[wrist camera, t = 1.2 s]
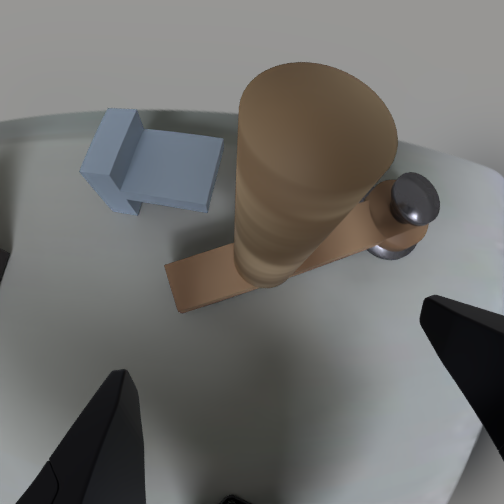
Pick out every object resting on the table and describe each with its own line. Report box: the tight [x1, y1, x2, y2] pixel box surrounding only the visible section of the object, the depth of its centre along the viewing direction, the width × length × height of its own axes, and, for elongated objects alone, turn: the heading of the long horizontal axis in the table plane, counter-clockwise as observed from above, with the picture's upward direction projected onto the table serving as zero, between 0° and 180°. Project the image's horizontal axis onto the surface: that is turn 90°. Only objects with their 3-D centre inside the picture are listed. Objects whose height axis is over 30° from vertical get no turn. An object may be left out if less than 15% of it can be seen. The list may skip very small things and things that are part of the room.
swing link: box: [164, 62, 429, 313], centre depth 14 cm, size 18×5×14 cm, turn 109°
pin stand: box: [359, 172, 440, 260], centre depth 20 cm, size 6×6×5 cm
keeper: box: [79, 108, 224, 216], centre depth 19 cm, size 7×4×6 cm, turn 80°
